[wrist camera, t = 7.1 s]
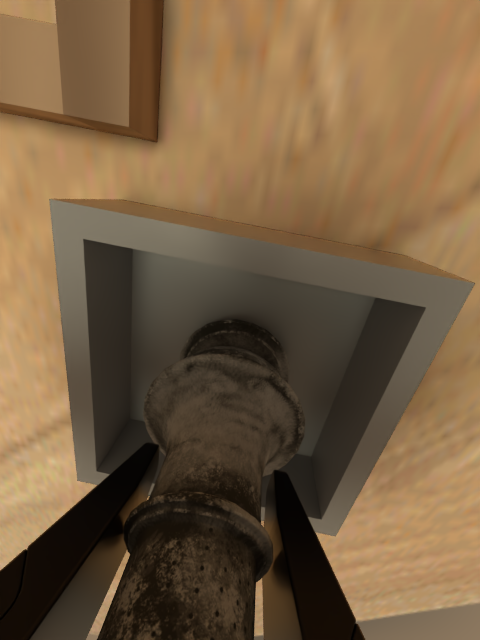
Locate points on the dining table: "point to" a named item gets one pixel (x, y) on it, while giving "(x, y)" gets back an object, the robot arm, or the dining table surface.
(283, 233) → the bin
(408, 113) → the dining table surface
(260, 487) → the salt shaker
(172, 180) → the dining table surface
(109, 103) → the socket block
